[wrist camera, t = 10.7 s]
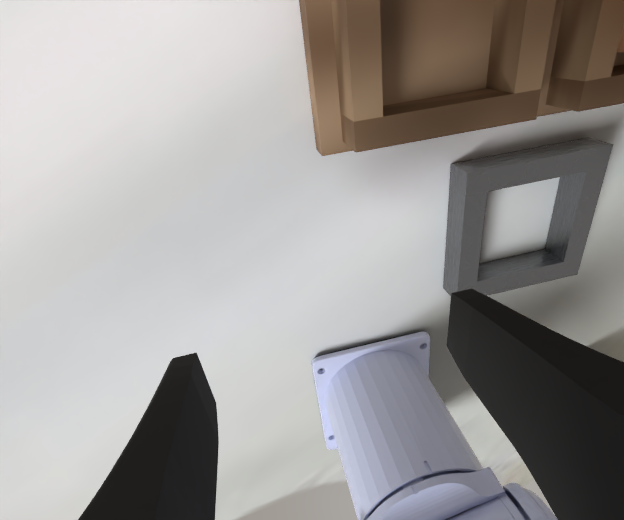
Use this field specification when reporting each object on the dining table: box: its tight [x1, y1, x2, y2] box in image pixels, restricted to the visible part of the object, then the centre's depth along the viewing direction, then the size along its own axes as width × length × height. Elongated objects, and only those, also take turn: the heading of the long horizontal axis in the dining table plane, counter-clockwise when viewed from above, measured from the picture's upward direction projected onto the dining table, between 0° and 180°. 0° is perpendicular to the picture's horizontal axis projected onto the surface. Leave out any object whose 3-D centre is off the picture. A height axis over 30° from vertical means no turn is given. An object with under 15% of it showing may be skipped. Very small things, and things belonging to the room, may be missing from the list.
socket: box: [443, 138, 613, 296], centre depth 22 cm, size 8×8×2 cm
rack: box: [299, 0, 624, 156], centre depth 16 cm, size 9×20×3 cm, turn 97°
